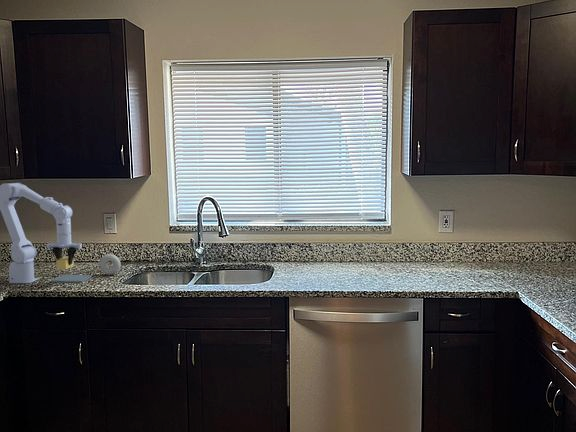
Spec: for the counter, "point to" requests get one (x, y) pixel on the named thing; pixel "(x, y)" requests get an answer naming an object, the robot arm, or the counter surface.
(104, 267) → the donut
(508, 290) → the counter surface
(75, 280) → the mat
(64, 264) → the yellow rectangular block
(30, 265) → the robot arm
